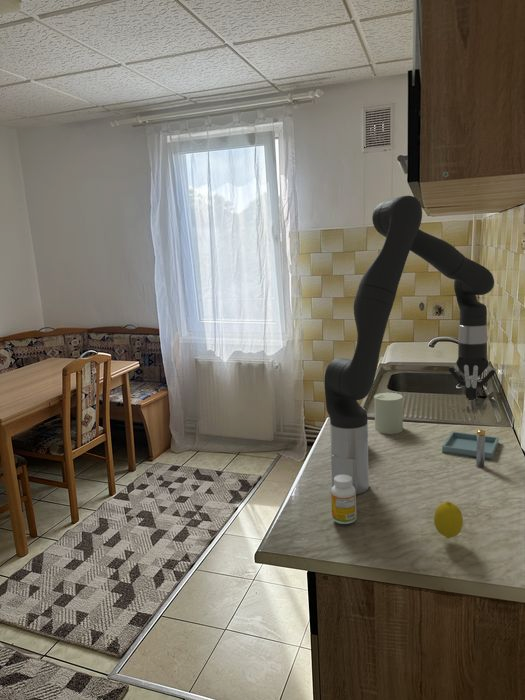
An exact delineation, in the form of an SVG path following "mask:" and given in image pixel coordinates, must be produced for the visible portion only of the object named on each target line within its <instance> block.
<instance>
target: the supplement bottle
mask: <svg viewBox="0 0 525 700" xmlns="http://www.w3.org/2000/svg"><path fill="white" fill-rule="evenodd" d="M330 491H331V492H330V494H331V518H332V520H333V521H334V522H335V523H337V524H340V525H341V524H342V525H348V524H352V523H354V522H356V520H357V499H356V498H357V497H356V496H357V495H356V490H355V488H354V486H352V477H351V476H349V475H337V476H335V477H334V486H333V487H332V486H331V489H330Z"/></svg>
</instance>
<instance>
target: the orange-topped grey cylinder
mask: <svg viewBox="0 0 525 700" xmlns="http://www.w3.org/2000/svg"><path fill="white" fill-rule="evenodd" d="M476 435H477V455H476V458H475V459H476V462H475V463H476V465H475V466H476V467H477V468H479V469H483V468H485V460H486V459H485V436H486V430H484V429H477V430H476Z"/></svg>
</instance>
